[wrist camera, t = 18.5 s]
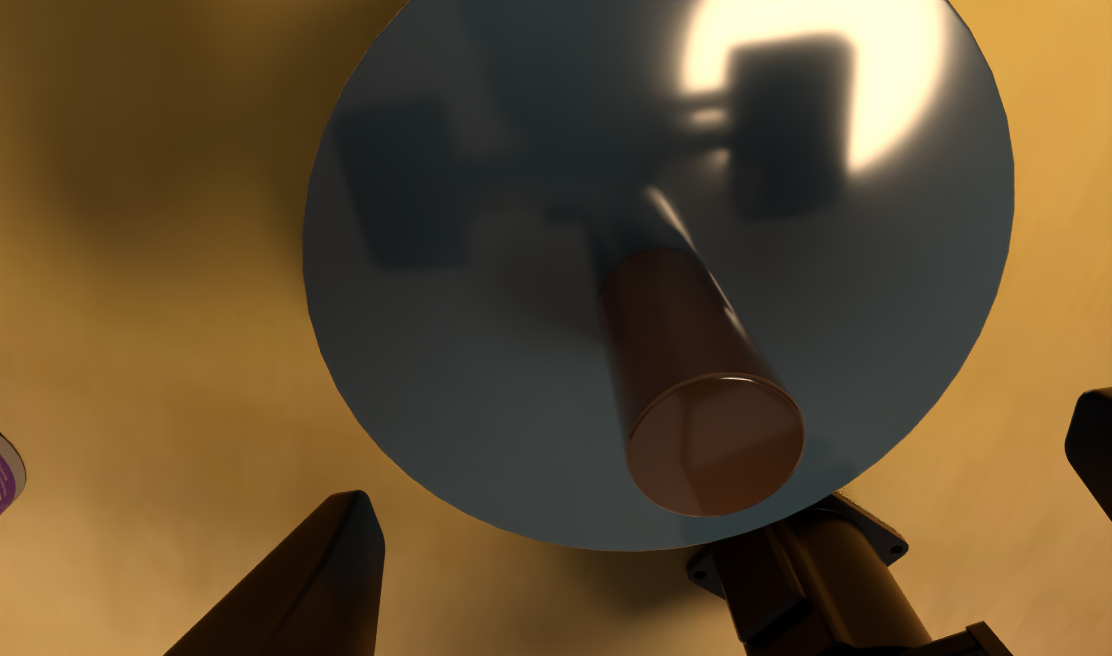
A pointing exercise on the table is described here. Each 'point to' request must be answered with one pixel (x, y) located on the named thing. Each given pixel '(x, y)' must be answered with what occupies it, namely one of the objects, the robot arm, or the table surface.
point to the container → (10, 475)
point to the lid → (654, 252)
